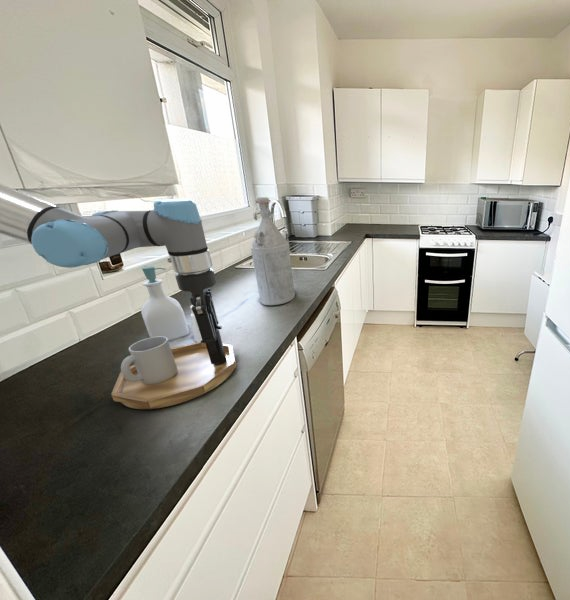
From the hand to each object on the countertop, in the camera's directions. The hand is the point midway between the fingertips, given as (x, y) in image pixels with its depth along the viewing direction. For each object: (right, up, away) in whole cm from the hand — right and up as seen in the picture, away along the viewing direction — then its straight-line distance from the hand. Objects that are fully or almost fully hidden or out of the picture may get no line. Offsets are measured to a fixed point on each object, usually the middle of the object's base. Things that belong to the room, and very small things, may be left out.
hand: (218, 357), depth 80 cm
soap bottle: (-25, +3, +17) cm, 30 cm away
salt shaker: (-14, +3, +16) cm, 22 cm away
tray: (-7, -5, -3) cm, 9 cm away
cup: (-12, -4, -6) cm, 14 cm away
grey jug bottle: (-3, +15, +46) cm, 49 cm away
